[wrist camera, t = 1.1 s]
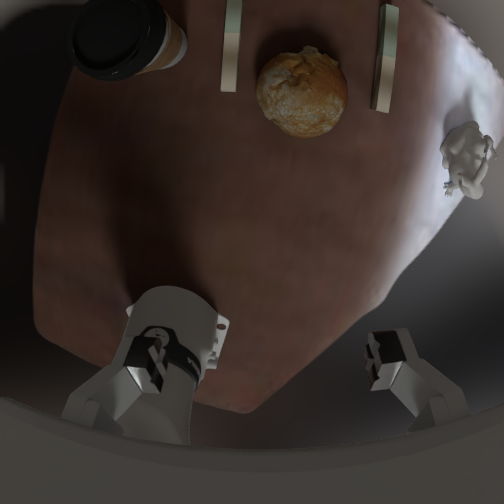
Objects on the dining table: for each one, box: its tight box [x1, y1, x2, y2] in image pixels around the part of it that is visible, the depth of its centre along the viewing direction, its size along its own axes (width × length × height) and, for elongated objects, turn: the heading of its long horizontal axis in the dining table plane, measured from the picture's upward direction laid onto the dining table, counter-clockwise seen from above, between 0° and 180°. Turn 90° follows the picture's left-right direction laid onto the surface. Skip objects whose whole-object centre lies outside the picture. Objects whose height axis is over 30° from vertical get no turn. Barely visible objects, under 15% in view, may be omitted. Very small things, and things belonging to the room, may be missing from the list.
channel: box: [221, 0, 399, 113], centre depth 26 cm, size 14×19×2 cm
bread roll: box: [255, 46, 348, 138], centre depth 28 cm, size 10×10×8 cm
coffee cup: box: [67, 0, 188, 81], centre depth 21 cm, size 8×8×15 cm
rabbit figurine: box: [440, 121, 497, 199], centre depth 29 cm, size 12×8×10 cm, turn 162°
